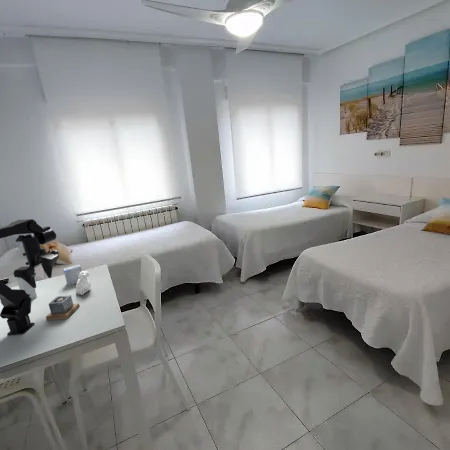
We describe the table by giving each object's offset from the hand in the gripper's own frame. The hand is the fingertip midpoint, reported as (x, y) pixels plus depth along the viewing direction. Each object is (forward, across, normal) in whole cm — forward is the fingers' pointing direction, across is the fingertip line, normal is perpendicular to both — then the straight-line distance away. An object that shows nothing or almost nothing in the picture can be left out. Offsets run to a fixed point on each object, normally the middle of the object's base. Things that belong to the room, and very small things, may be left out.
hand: (42, 282), depth 116 cm
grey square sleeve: (+12, -4, -9) cm, 15 cm away
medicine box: (+13, +26, +4) cm, 30 cm away
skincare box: (+13, +12, +19) cm, 26 cm away
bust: (+13, +15, -7) cm, 21 cm away
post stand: (+13, -4, -9) cm, 16 cm away
